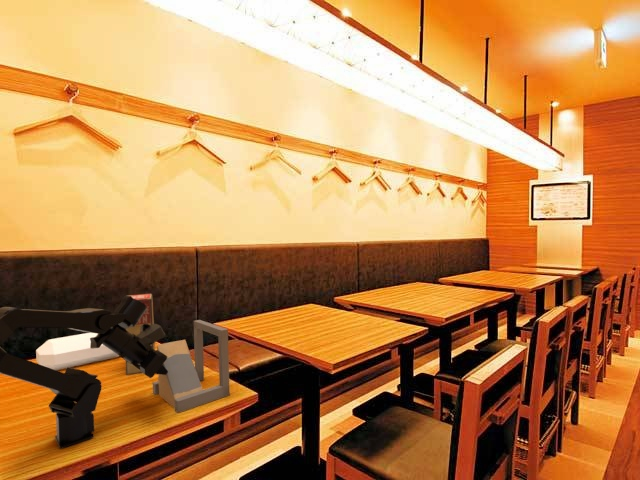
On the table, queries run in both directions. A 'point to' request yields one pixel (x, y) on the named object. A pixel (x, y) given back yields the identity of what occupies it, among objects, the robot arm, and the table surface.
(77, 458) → the table surface
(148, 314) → the food packaging
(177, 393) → the sandwich container
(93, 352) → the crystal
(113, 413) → the table surface
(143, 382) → the table surface
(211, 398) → the grey frame stand
